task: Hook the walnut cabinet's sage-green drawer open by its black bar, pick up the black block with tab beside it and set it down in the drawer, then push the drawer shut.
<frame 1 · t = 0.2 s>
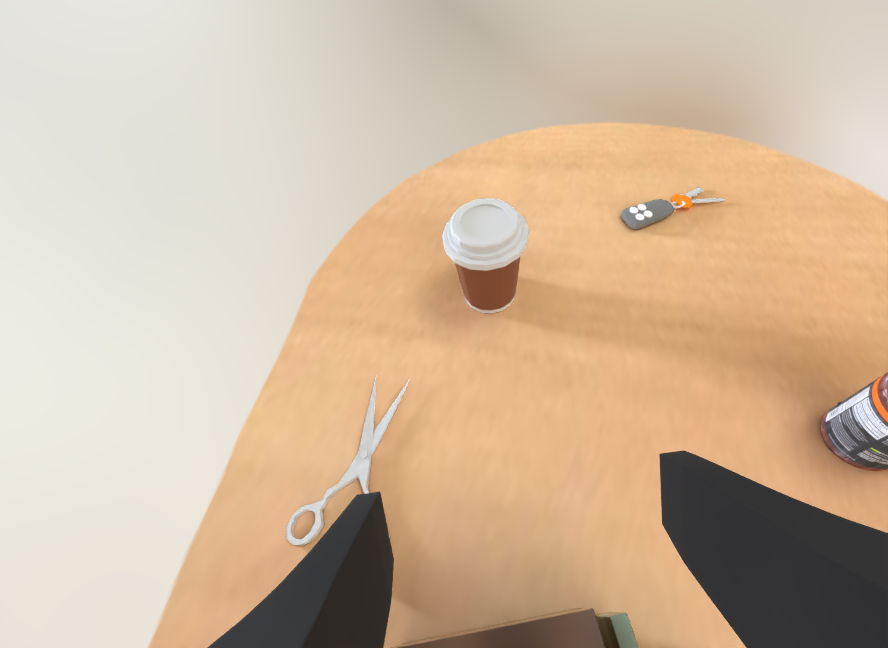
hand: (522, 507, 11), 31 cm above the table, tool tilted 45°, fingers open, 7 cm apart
scissors: (366, 464, 44), on the table
key chain: (670, 210, 57), on the table
coffee cup: (490, 293, 54), on the table
supplement bottle: (854, 439, 39), on the table
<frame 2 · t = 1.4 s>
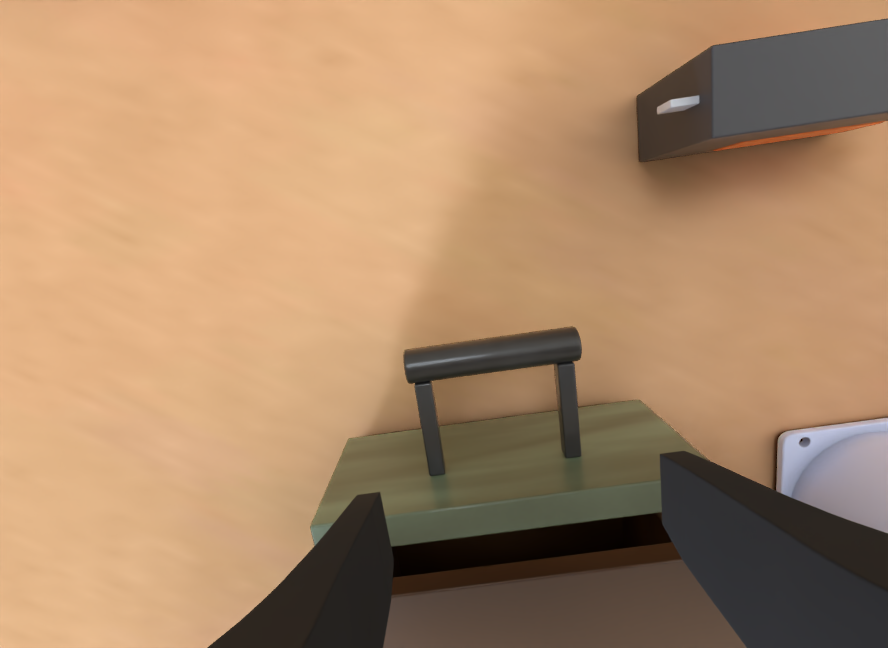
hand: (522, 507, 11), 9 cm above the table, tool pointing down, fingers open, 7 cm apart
black block with tab: (734, 115, 18), on the table
drawer: (513, 547, 18), point 4 cm above the table, slide at 1.0 cm
cabinet: (511, 576, 23), on the table
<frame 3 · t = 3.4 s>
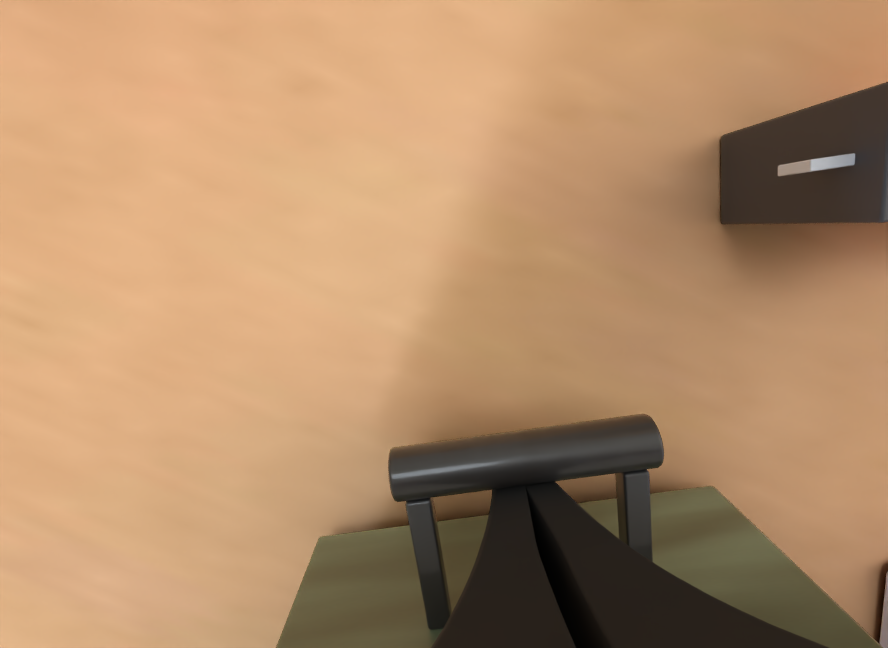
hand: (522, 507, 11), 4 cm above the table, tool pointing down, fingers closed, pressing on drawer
black block with tab: (853, 161, 13), on the table
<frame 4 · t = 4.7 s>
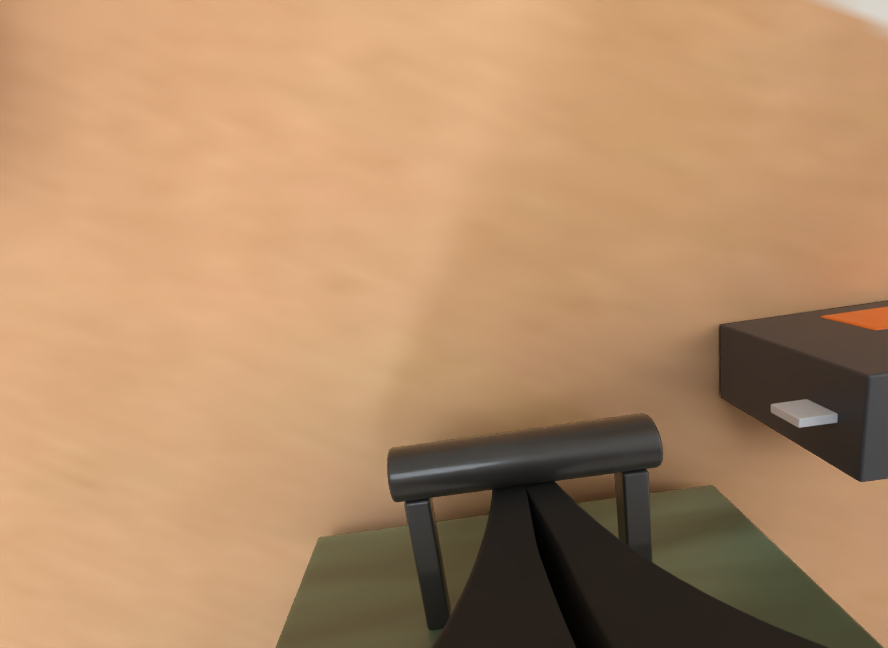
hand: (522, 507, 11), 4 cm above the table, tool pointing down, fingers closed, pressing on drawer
black block with tab: (840, 344, 14), on the table
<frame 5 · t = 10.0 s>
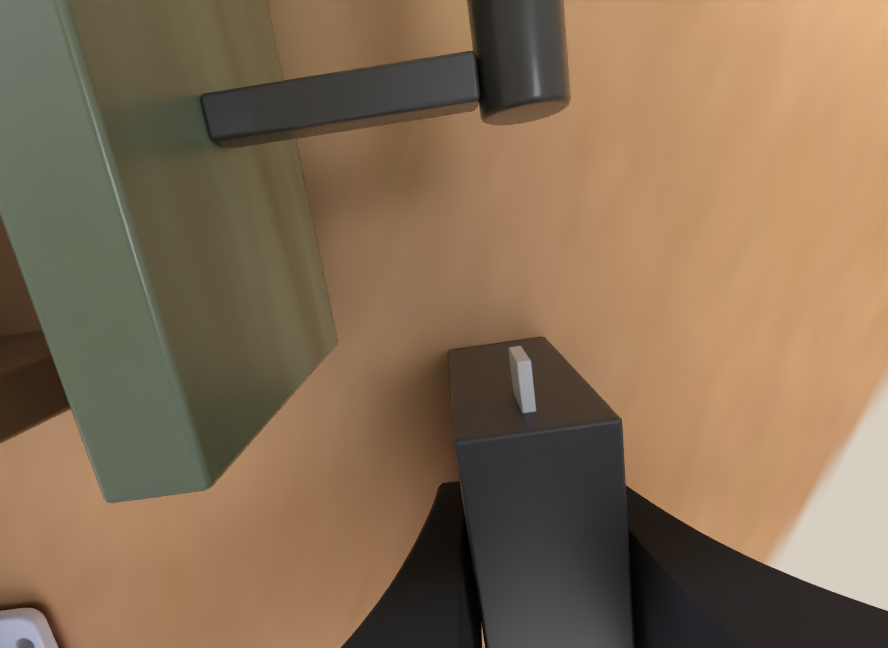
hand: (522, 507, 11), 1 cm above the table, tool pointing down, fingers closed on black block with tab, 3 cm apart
black block with tab: (512, 476, 12), on the table, touching gripper
when the fingers open (3 cm above the table, at t = 14.7 s): black block with tab stays where it is, resting on drawer.
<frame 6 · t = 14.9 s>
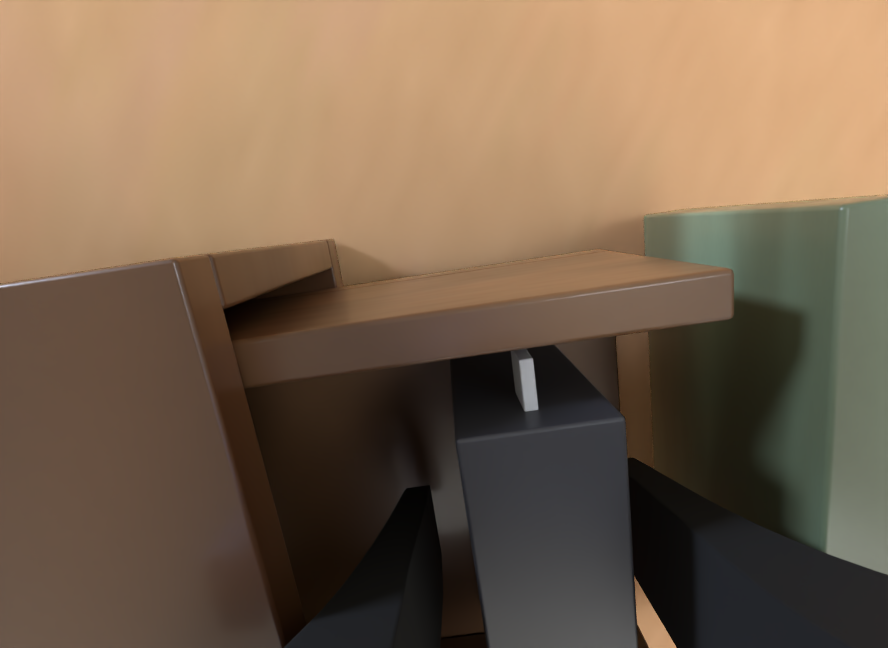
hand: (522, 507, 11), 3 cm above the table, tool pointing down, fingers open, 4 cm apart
black block with tab: (513, 476, 12), point 2 cm above the table, touching drawer
drawer: (580, 515, 10), point 4 cm above the table, slide at 8.6 cm, touching black block with tab
cabinet: (164, 489, 14), on the table
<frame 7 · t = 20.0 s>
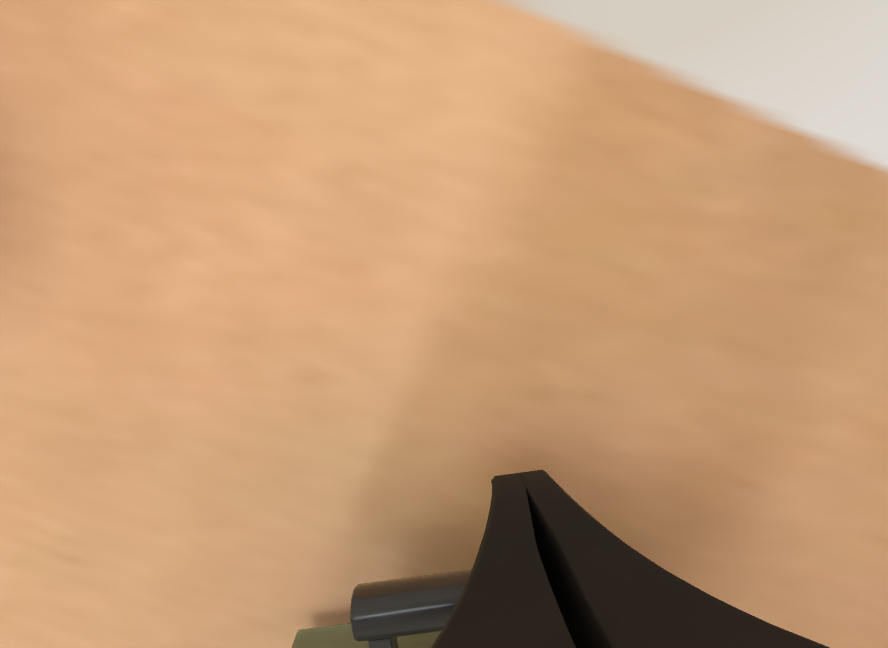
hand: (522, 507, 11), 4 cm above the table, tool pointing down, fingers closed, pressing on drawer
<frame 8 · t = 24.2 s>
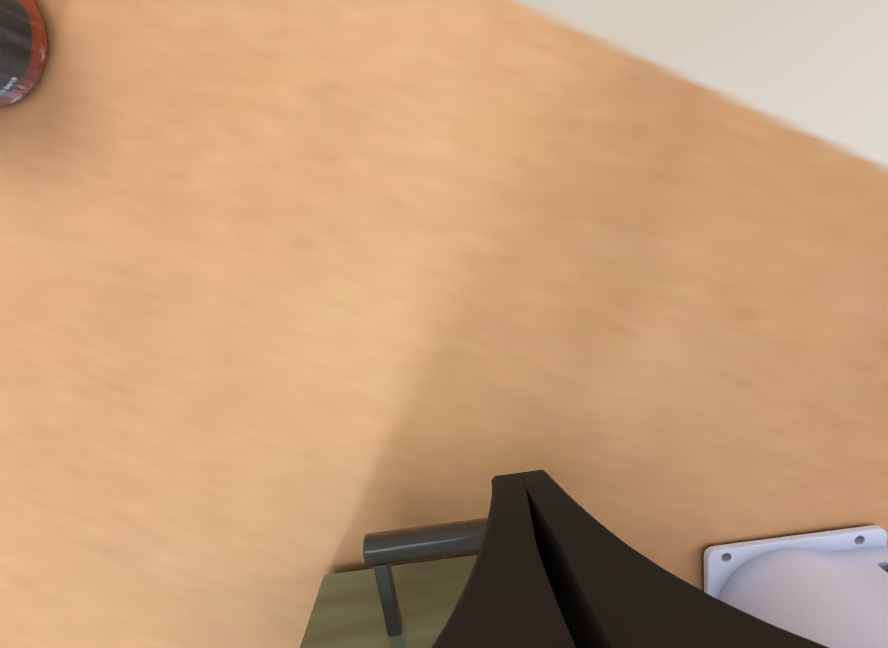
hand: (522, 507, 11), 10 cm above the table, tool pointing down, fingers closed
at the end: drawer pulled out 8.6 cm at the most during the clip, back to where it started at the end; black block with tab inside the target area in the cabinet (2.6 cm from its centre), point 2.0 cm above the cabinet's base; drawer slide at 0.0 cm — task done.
